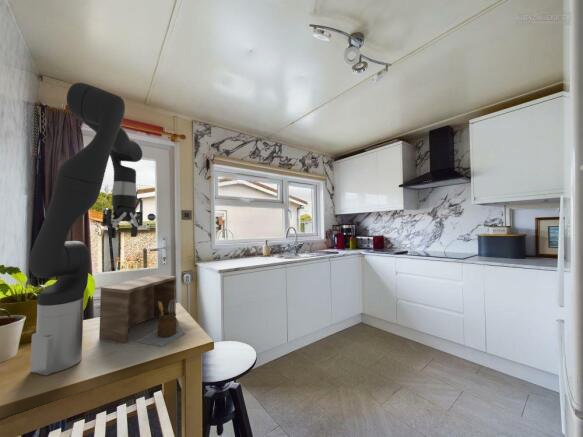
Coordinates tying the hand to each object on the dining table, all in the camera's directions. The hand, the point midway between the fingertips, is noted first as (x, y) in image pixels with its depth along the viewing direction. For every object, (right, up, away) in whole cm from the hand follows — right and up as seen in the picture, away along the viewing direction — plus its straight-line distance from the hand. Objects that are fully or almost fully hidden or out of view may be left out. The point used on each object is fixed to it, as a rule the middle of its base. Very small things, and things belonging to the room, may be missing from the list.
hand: (123, 237), depth 92 cm
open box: (+8, -33, -2) cm, 34 cm away
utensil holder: (+21, -33, -9) cm, 40 cm away
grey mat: (+20, -33, -10) cm, 40 cm away
